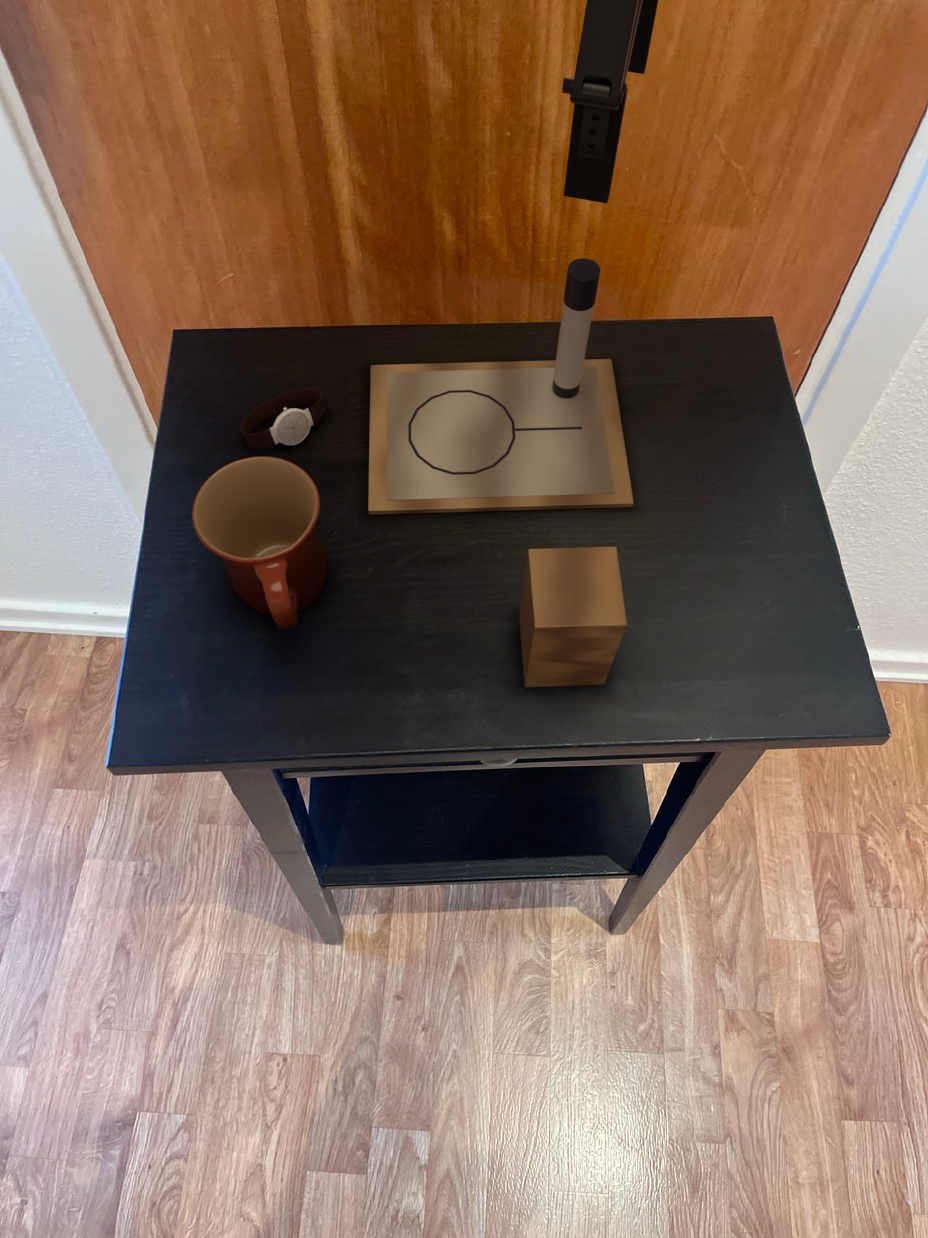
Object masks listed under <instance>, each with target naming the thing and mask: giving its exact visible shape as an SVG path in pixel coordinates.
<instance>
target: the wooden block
mask: <svg viewBox="0 0 928 1238" xmlns="http://www.w3.org/2000/svg"><path fill="white" fill-rule="evenodd" d="M617 548H618V547H617V546H588V547H587V546H586V547H583V546H582V547H552V548H528V550H527V556H526V564H525V572H524V578H523V579H524V580H523V587H522V594H521V600H520V610H519V618H518V619H519V628H520V629H519V631H520V632H519V633H520V644H521V659H522V672H523V673H522V674H523V685H524V688H546V687H547V688H548V687H575V686H577V687H578V686H604V685H605V683H606V681H607V679H608V677H609V673H610V670H611V668H612V666H613V662H614V660H615V657H616V655H617V653H618V650H619V647H620V644H621V641H622V639H623V637H624V634H625V630H626V628H627V625H628V620H627V614H626V607H625V600H624V593H623V585H622V577H621V569H620V565H619V557H618V549H617Z"/></svg>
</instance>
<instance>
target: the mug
mask: <svg viewBox="0 0 928 1238" xmlns="http://www.w3.org/2000/svg"><path fill="white" fill-rule="evenodd" d="M320 506H321V501H320V493H319V490H318V488H317V485H316V483H315V482H314V480H313V478H312V477H311V476H310V475H309V473H307V472H306V471H305V470H304V469H303V468H302V467H300V466H299V465H297V464H296V463H293V462H292V461H289V460H287V459H284V458H279V457H274V456H266V455H264V456H263V455H262V456H250V457H245V458H240V459H237V460H235V461H232V462H230V463H228V464H226V465H223V466H222V467H221V468H219V469H217V470H216V471H215V472H214V473H212V474H211V475H210V476H209V477H208V478H207V479H206V480H205V481H204V482H203V484H202V485H201V487H200V488H199V490H198V491H197V494H196V495H195V498H194V501H193V505H192V510H191V511H192V514H191V516H192V523H193V524H192V525H193V528H194V530H195V533H196V535H197V537H198V538H199V540H200V542H201V543H202V544H203V545H204V546H205V547H206V548H207V549H208V550H210V551H211V552H212V553H213V554H214V555H216V556H218V557H219V558H220V559H221V562H222V564H223V567H224V570H225V572H226V574H227V577H228V579H229V582H230V585H231V586H232V588H233V590H234V592H236V594H237V595H238V596H239V597H240V598H241V599H242V600H243V601H244V602H245V603H246V604H247V605H248V606H249V607H250V608H252V610H255V611H257V612H259V613H261V614H263V615H268V616H271V618H272V620H273V622H274V624H275V625H276V627H277V628H279V629H281V630H286V629H290V628H295V627H296V626H297V625H298V623H299V613H298V612H301V611H302V610H304V609H306V608H308V607H309V606H311V604H312V603H313V602H314V601H315V600H316V599H317V597H318V596H319V595H320V593H321V592H322V590H323V588H324V585H325V581H326V575H327V555H326V551H325V548H324V546H323V543H322V540H321V537H320V533H319V531H318V528H317V523H318V519H319V516H320V511H321V510H320V509H321V508H320Z"/></svg>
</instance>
